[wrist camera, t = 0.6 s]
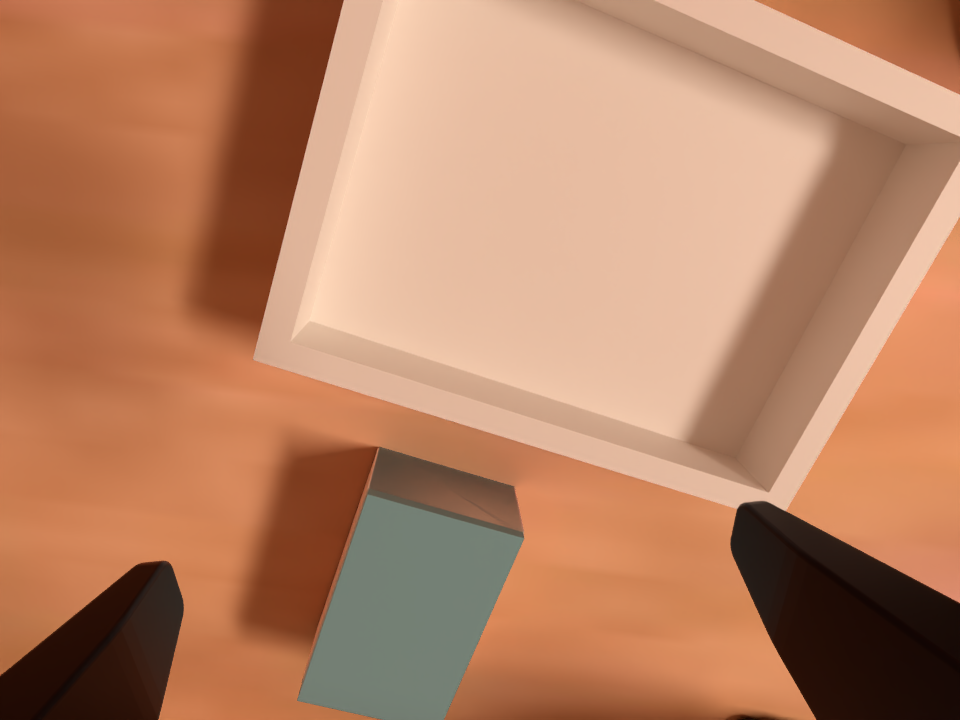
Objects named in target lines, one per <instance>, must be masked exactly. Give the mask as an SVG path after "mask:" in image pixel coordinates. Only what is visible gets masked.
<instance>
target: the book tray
mask: <svg viewBox="0 0 960 720" xmlns="http://www.w3.org/2000/svg"><path fill="white" fill-rule="evenodd" d="M959 217H960V95H959V94H957V93H955V92H953V91H950V90H948V89H946V88H944V87H942V86H940V85H937V84H935V83H933V82H931V81H929V80H926V79H924V78H922V77H920V76H918V75H916V74H913V73H911V72H909V71H907V70H905V69H903V68H900V67H898V66H896V65H894V64H892V63H889V62H887V61H885V60H883V59H881V58H879V57H876V56H874V55H872V54H870V53H868V52H866V51H863V50H861V49H859V48H857V47H855V46H852V45H850V44H848V43H846V42H844V41H842V40H839V39H837V38H835V37H833V36H831V35H829V34H826V33H824V32H822V31H820V30H818V29H815V28H813V27H811V26H809V25H807V24H805V23H802V22H800V21H798V20H796V19H794V18H792V17H789V16H787V15H785V14H783V13H781V12H778V11H776V10H774V9H772V8H770V7H768V6H765V5H763V4H761V3H759V2H757V1H754V0H344V2H343V6H342V10H341V14H340V18H339V22H338V25H337V29H336V33H335V37H334V41H333V45H332V49H331V53H330V57H329V61H328V65H327V69H326V73H325V77H324V81H323V85H322V89H321V93H320V97H319V100H318V104H317V108H316V112H315V116H314V120H313V124H312V128H311V132H310V136H309V140H308V144H307V148H306V152H305V156H304V160H303V164H302V168H301V171H300V175H299V179H298V183H297V187H296V191H295V195H294V199H293V203H292V207H291V211H290V215H289V219H288V223H287V227H286V231H285V235H284V239H283V242H282V246H281V250H280V254H279V258H278V262H277V266H276V270H275V274H274V278H273V282H272V286H271V290H270V294H269V298H268V302H267V306H266V310H265V314H264V317H263V321H262V325H261V329H260V333H259V337H258V341H257V345H256V349H255V353H254V357H253V360H254V361H258V362H261V363H264V364H267V365H271V366H274V367H277V368H280V369H284V370H287V371H290V372H293V373H297V374H300V375H303V376H306V377H310V378H313V379H316V380H319V381H323V382H326V383H329V384H332V385H336V386H339V387H342V388H345V389H349V390H352V391H355V392H358V393H362V394H365V395H368V396H372V397H375V398H378V399H381V400H385V401H388V402H391V403H394V404H398V405H401V406H404V407H407V408H411V409H414V410H417V411H420V412H424V413H427V414H430V415H433V416H437V417H440V418H443V419H446V420H450V421H453V422H456V423H459V424H463V425H466V426H469V427H472V428H476V429H479V430H482V431H485V432H489V433H492V434H495V435H498V436H502V437H505V438H508V439H511V440H515V441H518V442H521V443H524V444H528V445H531V446H534V447H537V448H541V449H544V450H547V451H550V452H554V453H557V454H560V455H563V456H567V457H570V458H573V459H576V460H580V461H583V462H586V463H589V464H593V465H596V466H599V467H602V468H606V469H609V470H612V471H615V472H619V473H622V474H625V475H628V476H632V477H635V478H638V479H641V480H645V481H648V482H651V483H654V484H658V485H661V486H664V487H667V488H671V489H674V490H677V491H680V492H684V493H687V494H690V495H693V496H697V497H700V498H703V499H706V500H710V501H713V502H716V503H719V504H723V505H726V506H729V507H732V508H736V509H738V507H739V505H740V504H742V503H744V502H753V501H767V502H769V503H771V504H773V505H775V506H777V507H779V508H780V509H782V510H784V511H786V510H787V508H788V506H789V505H790V503H791V501H792V500H793V498H794V496H795V494H796V493H797V491H798V489H799V488H800V486H801V484H802V483H803V481H804V479H805V478H806V476H807V474H808V472H809V471H810V469H811V467H812V466H813V464H814V462H815V461H816V459H817V457H818V456H819V454H820V452H821V451H822V449H823V447H824V445H825V444H826V442H827V440H828V439H829V437H830V435H831V434H832V432H833V430H834V429H835V427H836V425H837V423H838V422H839V420H840V418H841V417H842V415H843V413H844V412H845V410H846V408H847V407H848V405H849V403H850V401H851V400H852V398H853V396H854V395H855V393H856V391H857V390H858V388H859V386H860V385H861V383H862V381H863V379H864V378H865V376H866V374H867V373H868V371H869V369H870V368H871V366H872V364H873V363H874V361H875V359H876V357H877V356H878V354H879V352H880V351H881V349H882V347H883V346H884V344H885V342H886V341H887V339H888V337H889V335H890V334H891V332H892V330H893V329H894V327H895V325H896V324H897V322H898V320H899V319H900V317H901V315H902V313H903V312H904V310H905V308H906V307H907V305H908V303H909V302H910V300H911V298H912V297H913V295H914V293H915V291H916V290H917V288H918V286H919V285H920V283H921V281H922V280H923V278H924V276H925V275H926V273H927V271H928V270H929V268H930V266H931V264H932V263H933V261H934V259H935V258H936V256H937V254H938V253H939V251H940V249H941V248H942V246H943V244H944V242H945V241H946V239H947V237H948V236H949V234H950V232H951V231H952V229H953V227H954V226H955V224H956V222H957V220H958V219H959Z"/></svg>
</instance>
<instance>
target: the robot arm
mask: <svg viewBox="0 0 960 720" xmlns="http://www.w3.org/2000/svg"><path fill="white" fill-rule="evenodd" d="M731 551H732V555H733V557H734V560H735V562H736V564H737V566H738V568H739V571H740V573H741V575H742V577H743V579H744V582H745V584H746V586H747V588H748V591H749V593H750V595H751V597H752V599H753V602H754V604H755V606H756V608H757V610H758V613H759V615H760V617H761V619H762V622H763V624H764V626H765V628H766V630H767V632H768V634H769V636H770V638H771V641H772V643H773V644H774V646H775V648H776V650H777V652H778V653H779V655H780V657H781V659H782V661H783V662H784V664H785V666H786V668H787V669H788V671H789V673H790V674H791V676H792V678H793V680H794V681H795V683H796V685H797V687H798V688H799V690H800V692H801V694H802V695H803V697H804V699H805V701H806V702H807V704H808V706H809V707H810V709H811V711H812V713H813V714H814V716H815V718H816V720H960V603H959V602H957V601H955V600H953V599H951V598H949V597H947V596H945V595H943V594H942V593H940V592H938V591H936V590H934V589H932V588H930V587H928V586H926V585H924V584H923V583H921V582H919V581H917V580H915V579H913V578H911V577H909V576H907V575H906V574H904V573H902V572H900V571H898V570H896V569H894V568H892V567H890V566H888V565H887V564H885V563H883V562H881V561H879V560H877V559H875V558H873V557H871V556H870V555H868V554H866V553H864V552H862V551H860V550H858V549H856V548H854V547H852V546H851V545H849V544H847V543H845V542H843V541H841V540H839V539H837V538H835V537H834V536H832V535H830V534H828V533H826V532H824V531H822V530H820V529H818V528H816V527H815V526H813V525H811V524H809V523H807V522H805V521H803V520H801V519H799V518H798V517H796V516H794V515H792V514H790V513H788V512H786V511H784V510H782V509H780V508H779V507H777V506H775V505H773V504H771V503H769V502H767V501H753V502H744V503H742V504H740V505H739V507H738V509H737V512H736V517H735V522H734V526H733V531H732V536H731ZM183 611H184V604H183V598H182V595H181V592H180V589H179V586H178V583H177V580H176V577H175V574H174V571H173V568H172V566H171V564H170V563H169V562H167V561H155V562H145V563H140V564H138V565H136V566H135V567H133V568H132V569H131V570H129V571H128V572H127V573H126V574H124V575H123V576H122V577H121V578H120V579H118V580H117V581H116V582H115V583H113V584H112V585H111V586H110V587H109V588H107V589H106V590H105V591H104V592H102V593H101V594H100V595H99V596H98V597H96V598H95V599H94V600H93V601H91V602H90V603H89V604H88V605H86V606H85V607H84V608H83V609H82V610H80V611H79V612H78V613H77V614H75V615H74V616H73V617H72V618H71V619H69V620H68V621H67V622H66V623H64V624H63V625H62V626H61V627H60V628H58V629H57V630H56V631H55V632H53V633H52V634H51V635H50V636H49V637H47V638H46V639H45V640H44V641H42V642H41V643H40V644H39V645H37V646H36V647H35V648H34V649H33V650H31V651H30V652H29V653H28V654H26V655H25V656H24V657H23V658H22V659H20V660H19V661H18V662H17V663H15V664H14V665H13V666H12V667H11V668H9V669H8V670H7V671H6V672H4V673H3V674H2V675H1V676H0V720H158V719H159V715H160V711H161V707H162V703H163V699H164V695H165V691H166V686H167V682H168V678H169V674H170V669H171V665H172V661H173V656H174V652H175V648H176V644H177V639H178V635H179V631H180V626H181V622H182V618H183ZM743 720H756V719H752V718H745V719H743Z"/></svg>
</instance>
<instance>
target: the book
mask: <svg viewBox="0 0 960 720" xmlns="http://www.w3.org/2000/svg"><path fill="white" fill-rule="evenodd" d="M523 534H524V529H523V524H522V519H521V514H520V509H519V504H518V499H517V494H516V489H515V488H514V486H510V485H507V484H504V483H500V482H497V481H493V480H490V479H487V478H483V477H480V476H477V475H473V474H470V473H466V472H463V471H460V470H456V469H453V468H449V467H446V466H443V465H439V464H436V463H433V462H429V461H426V460H422V459H419V458H416V457H412V456H409V455H405V454H402V453H399V452H395V451H392V450H389V449H385V448H382V447H379V448H378V449H377V452H376V455H375V458H374V461H373V464H372V467H371V470H370V473H369V476H368V479H367V482H366V485H365V488H364V491H363V494H362V497H361V500H360V503H359V506H358V509H357V511H356V514H355V517H354V520H353V523H352V526H351V529H350V532H349V535H348V538H347V541H346V544H345V547H344V550H343V553H342V556H341V559H340V562H339V565H338V568H337V571H336V574H335V577H334V579H333V582H332V585H331V588H330V591H329V594H328V597H327V600H326V603H325V606H324V609H323V612H322V615H321V618H320V621H319V624H318V627H317V631H316V634H315V638H314V641H313V645H312V648H311V651H310V655H309V658H308V662H307V665H306V669H305V672H304V676H303V679H302V685H301V689H300V692H299V696H298V699H297V701H301V702H305V703H310V704H314V705H319V706H323V707H328V708H332V709H337V710H341V711H346V712H350V713H355V714H359V715H364V716H368V717H373V718H377V719H382V720H444V718H445V716H446V714H447V712H448V709H449V707H450V705H451V703H452V700H453V698H454V696H455V693H456V691H457V689H458V687H459V684H460V682H461V680H462V678H463V675H464V673H465V671H466V669H467V666H468V664H469V662H470V660H471V657H472V655H473V653H474V651H475V648H476V646H477V644H478V642H479V639H480V637H481V635H482V633H483V630H484V628H485V626H486V624H487V621H488V619H489V617H490V615H491V612H492V610H493V608H494V606H495V603H496V601H497V599H498V596H499V594H500V592H501V590H502V587H503V585H504V583H505V581H506V578H507V576H508V574H509V572H510V569H511V567H512V565H513V563H514V560H515V558H516V556H517V554H518V551H519V549H520V547H521V545H522V542H523V540H524V535H523Z"/></svg>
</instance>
